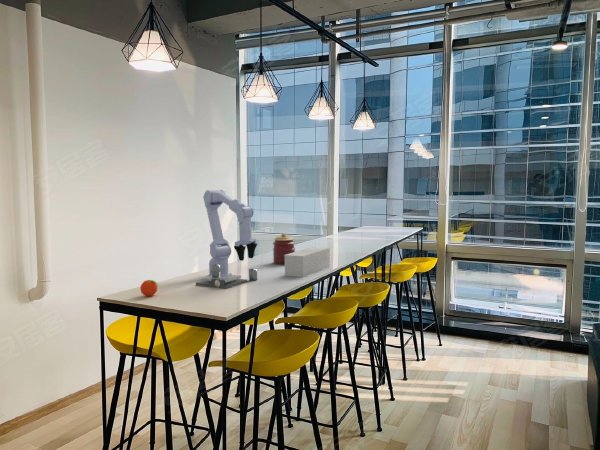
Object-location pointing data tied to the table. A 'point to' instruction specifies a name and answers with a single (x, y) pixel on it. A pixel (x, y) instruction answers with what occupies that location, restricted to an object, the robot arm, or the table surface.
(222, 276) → the pan
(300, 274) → the light grey rectangular block
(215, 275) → the spacer
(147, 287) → the clementine
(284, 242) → the canister
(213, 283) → the scale
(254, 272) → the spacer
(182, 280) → the table surface
